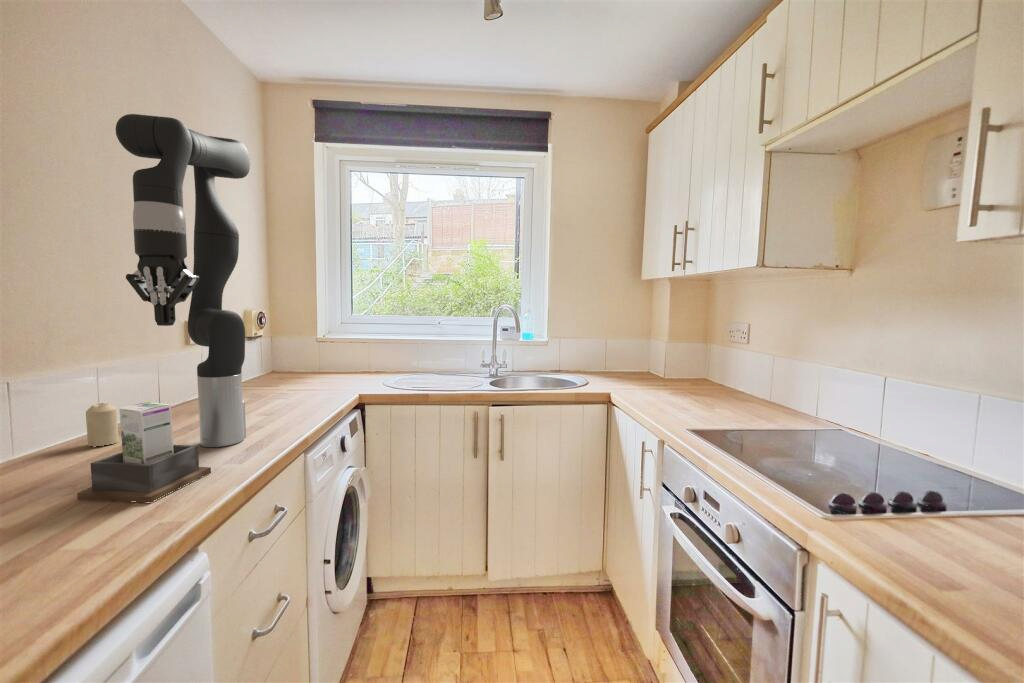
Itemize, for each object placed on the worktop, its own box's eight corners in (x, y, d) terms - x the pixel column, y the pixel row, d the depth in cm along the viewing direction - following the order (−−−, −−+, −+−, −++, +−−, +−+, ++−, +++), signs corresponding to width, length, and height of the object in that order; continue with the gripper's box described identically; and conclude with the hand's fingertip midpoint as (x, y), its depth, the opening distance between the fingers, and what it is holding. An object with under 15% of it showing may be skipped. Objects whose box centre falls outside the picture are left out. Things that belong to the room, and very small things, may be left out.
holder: (147, 469, 92) (146, 441, 92) (210, 472, 91) (209, 443, 91) (77, 499, 78) (75, 465, 78) (150, 503, 77) (149, 469, 77)
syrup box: (176, 475, 87) (173, 403, 86) (144, 487, 81) (139, 410, 80) (155, 471, 88) (151, 400, 87) (122, 483, 83) (117, 407, 81)
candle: (122, 443, 109) (119, 403, 108) (92, 449, 104) (89, 407, 103) (114, 439, 112) (111, 400, 111) (84, 444, 107) (81, 404, 106)
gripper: (210, 234, 84) (214, 325, 85) (145, 233, 84) (150, 323, 86) (177, 227, 76) (182, 327, 78) (106, 226, 77) (112, 325, 79)
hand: (165, 325), depth 82 cm, fingers closed
